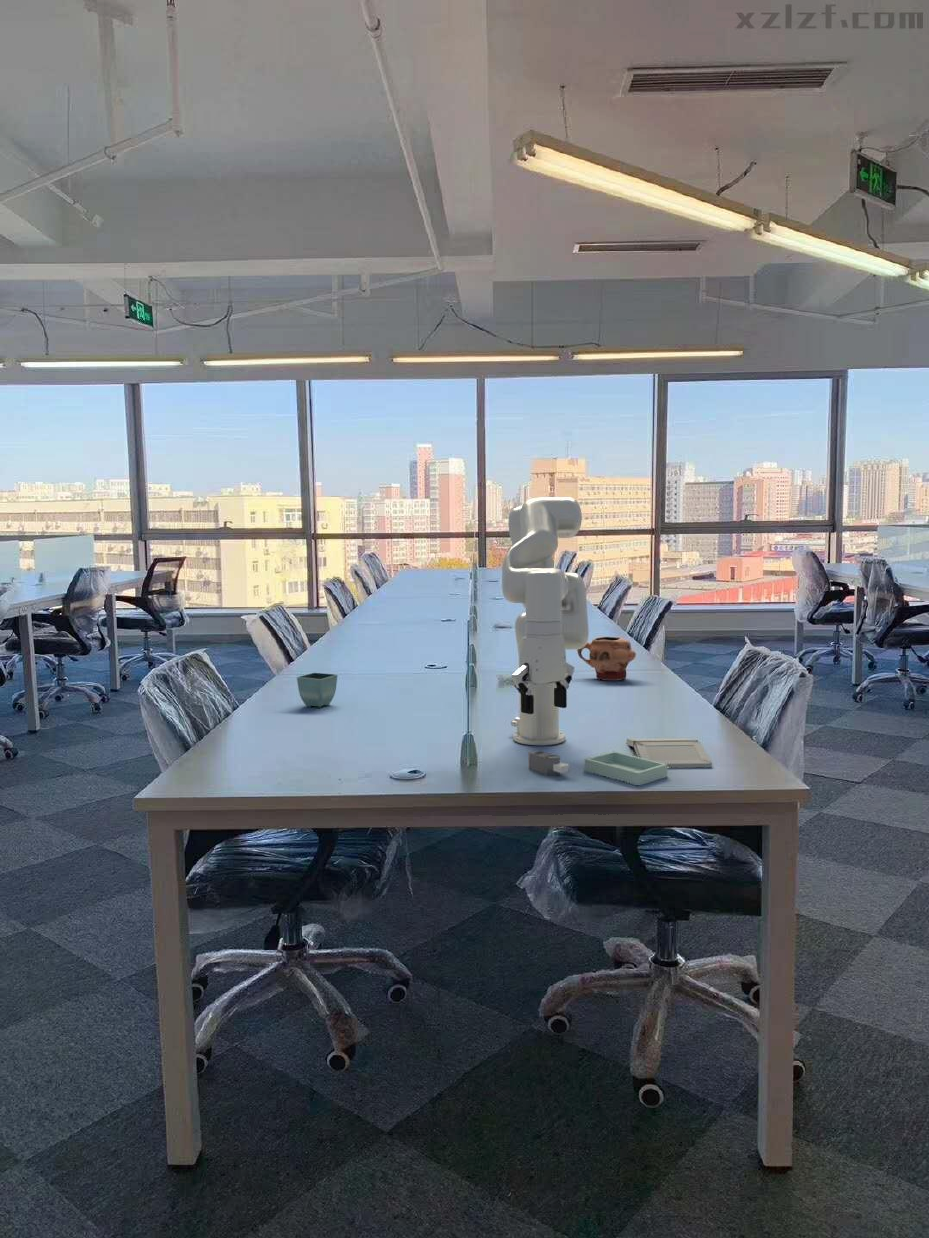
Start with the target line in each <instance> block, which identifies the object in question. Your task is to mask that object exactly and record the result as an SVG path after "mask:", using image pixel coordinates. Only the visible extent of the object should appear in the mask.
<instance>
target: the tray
mask: <svg viewBox="0 0 929 1238" xmlns="http://www.w3.org/2000/svg"><path fill="white" fill-rule="evenodd" d="M667 767H668V765H667V764H663V763H659V762H655V761H651V760H647V759H643V758H639V757H637V756H634V755H630V754H627V753H623V752H619V751H610V752H607V753H603V754H599V755H598V754H597V755H595V756H591V757H588V758H584V772H587V773H591V774H594V773H596V774H595V775H597V774H599V775H598V776H601V775H602V777H604V776H606V777H605V778H608V777H609V779H612V780H615V779H618V780H617V781H619V780H621V781H620V782H622V781H625V782H624V783H626V782H627V784H629V783H630V785H634V786H636V785H639V786H642V785H645V784H648V783H651V782H654V781H658V779H659V780H662V779H664V778H667V777H668V768H667Z"/></svg>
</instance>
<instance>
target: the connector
mask: <svg viewBox="0 0 929 1238" xmlns="http://www.w3.org/2000/svg"><path fill="white" fill-rule="evenodd" d="M528 770H530V771H532V772H536V773H539V774H542V775H546V776H550V777H551V776H552V777H556V776H560V775H561V774H564V773H567V772H569V771H570V764H568V763H564V762H561V756H560V755H557V754H553V753H550V752H547V751H542V750H529V751H528Z"/></svg>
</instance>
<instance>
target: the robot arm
mask: <svg viewBox="0 0 929 1238" xmlns="http://www.w3.org/2000/svg"><path fill="white" fill-rule="evenodd" d="M582 516H583V514H582V508H581V505H580V503H579V501H577V500H576V498H573V497H567V496H566V497H565V496H563V497H561V496H560V497H558V496H557V497H556V496H555V497H554V496H553V497H550V496H549V497H535V498H531V499H528V500H527V501H525V502H524V503H523V504H522V505H520V506H517V507H515V508H513V509H512V510H511V511H509V514H508V519H507V521H508V522H507V523H508V531H509V532H508V533H509V538H510V542H511V545H512V547H510V549H509V550H508V551H507V553H506V554H505V556H504V558H503V561H502V567H501V590H502V595H503V596H504V598H505V600H506V601H508V602H509V603H513V604H522V606H523V607H524V608H525V611H524V612H521V613H520V614H518V616H517V618H516V620H515V624H514V630H515V631H514V633H515V638H516V640H515V641H516V645H517V653H518V669H517V670H516V671H515V672H514V673H512V674H511V679H512V682H513V684H514V688H515V689H516V690H517V693H518V695H519V697H518V698H519V704H518V706H519V707H518V708H519V711H518V712H519V716H517V717H515V719H514V720H512V721H511V722H510V725H511V726H512V727H515V728H516V732H514V733H513V734H512V736H513V737H512V739H513V740H514V742H516V743H518V744H522V745H526V746H527V745H529V746H552V745H558V744H560V743H563V742H565V740H566V734H565V733H564V732H562V731H560V729H559V728H560V725H559V724H560V719H559V717H560V714H559V712H560V711H559V708H561V709H565V708H567V705H568V704H567V700H568V697H567V695H568V694H567V690H568V689H569V688H570V683H571V682H572V679H573V675H574V671H575V667H574V666H573V665H572V664H569V663H568V662H567V654H566V653H567V652H566V651H567V650H568V651H569V650H571V651H572V650H577V649H581V648H583V647H584V646H585V645H586V644H587V642H588V643H589V641H588V640H589V633H590V631H589V629H590V628H589V617H588V606H587V605H588V604H587V591H586V590H587V589H586V584H585V582H584V579H583V577H582V576H581V575H580V574H579V573H576V572H569V571H567V572H566V571H565V572H564V571H563V570H562V569H560V568H557V567H556V568H554V567H555V566H554V557H553V555H555V553H556V552H557V550H558V546H559V539H571V538H574V537H575V536H576V535H577V534H578V532H579V531H580V529H581V526H582V522H583V521H582V520H583V517H582Z"/></svg>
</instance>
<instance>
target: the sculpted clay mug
mask: <svg viewBox="0 0 929 1238" xmlns="http://www.w3.org/2000/svg"><path fill="white" fill-rule="evenodd" d="M584 649H588V650H589V659H586V658H585V657H583V654H582V652H583V651H584ZM576 650H577V655H578V657H579V658H580V659H581V660H582V661H584V662H585V663H586V664H587V665H588V666H590V667H591V668H594V670H595V674H596V676H595V677H596V679H597V678H598V679H597V680H600V679H602V680H601V681H622V679H623V680H624V679H626V678H627V667H628V665H629V664H630V663H631V662H632V661H633V660H635V659H636V657H637V656H636V655H637V653H636V651H634V649H632V645H631V642H630V641H629V640H628V639H625V638H622V637H615V636H600V637H596V638H595V637H594V638H593V639H592V641H591V642H589V641H588V642H587V644H586V645H585V646H584V647H583V648H581V649H576Z"/></svg>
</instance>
